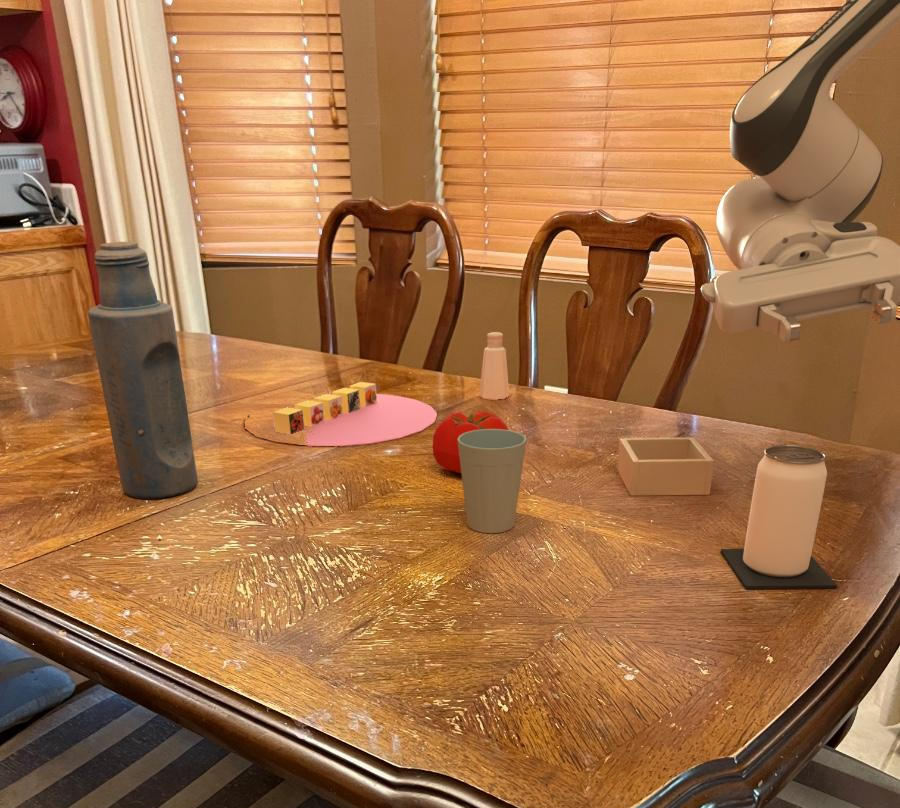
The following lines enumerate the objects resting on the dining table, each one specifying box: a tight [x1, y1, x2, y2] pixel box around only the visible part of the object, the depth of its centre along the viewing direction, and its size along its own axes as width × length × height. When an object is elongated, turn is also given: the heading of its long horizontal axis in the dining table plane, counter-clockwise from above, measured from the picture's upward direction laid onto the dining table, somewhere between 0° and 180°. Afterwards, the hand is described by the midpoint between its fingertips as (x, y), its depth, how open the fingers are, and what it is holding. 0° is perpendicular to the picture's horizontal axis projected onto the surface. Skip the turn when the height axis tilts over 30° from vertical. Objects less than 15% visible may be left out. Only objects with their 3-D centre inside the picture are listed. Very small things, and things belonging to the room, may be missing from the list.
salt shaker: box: [478, 331, 510, 401], centre depth 151 cm, size 5×5×11 cm
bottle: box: [87, 241, 199, 500], centre depth 107 cm, size 10×10×30 cm
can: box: [743, 444, 828, 578], centre depth 86 cm, size 6×6×12 cm
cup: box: [458, 429, 527, 534], centre depth 98 cm, size 8×8×10 cm
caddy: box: [616, 436, 715, 497], centre depth 112 cm, size 10×10×4 cm
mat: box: [720, 548, 838, 590], centre depth 89 cm, size 9×9×1 cm
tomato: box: [432, 410, 509, 475], centre depth 117 cm, size 11×11×8 cm
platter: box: [273, 381, 438, 448], centre depth 142 cm, size 32×32×3 cm
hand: (840, 325), depth 85 cm, fingers open, 8 cm apart
